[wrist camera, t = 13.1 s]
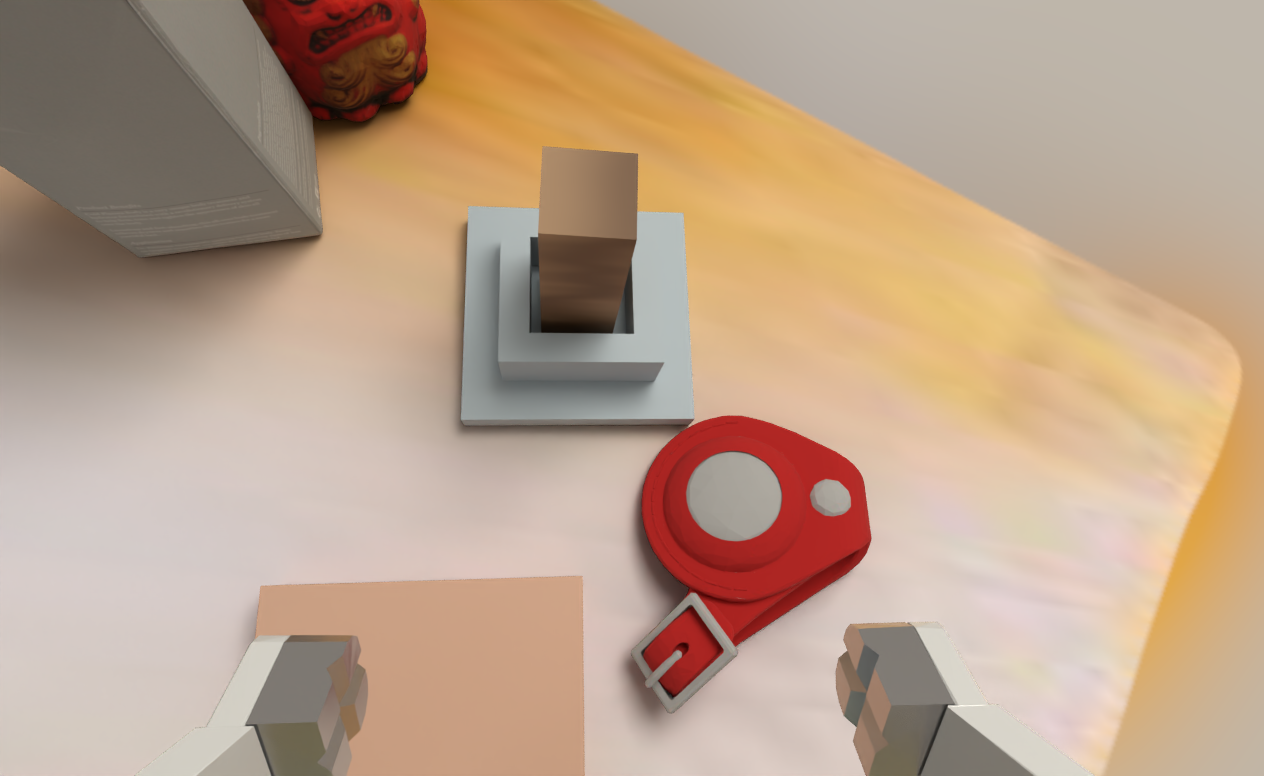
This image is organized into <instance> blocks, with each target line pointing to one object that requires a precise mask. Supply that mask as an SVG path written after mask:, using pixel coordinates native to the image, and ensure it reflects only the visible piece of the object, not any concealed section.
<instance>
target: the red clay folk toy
mask: <svg viewBox="0 0 1264 776" xmlns="http://www.w3.org/2000/svg"><path fill="white" fill-rule="evenodd" d="M242 1H243V2H244V4H245V6H246V7H247V9H248V10H249V12H250V14H251V15H252V17H253V19H254V20H255V22H256V24H257V25H258V27H259V28H260V30H261V32H262V33H263V35H264V37H265V38H266V40H267V42H268V43H269V45H270V47H271V48H272V50H273V51H274V53H275V55H276V56H277V58H278V60H279V61H280V63H281V65H282V66H283V68H284V69H285V71H286V73H287V74H288V76H289V78H290V79H291V81H292V82H293V84H294V86H295V87H296V89H297V91H298V92H299V94H300V96H301V97H302V99H303V101H304V102H305V104H306V106H307V108H308V109H309V111H310V112H311V115H312V116H314V117H316V118H318V119H320V120H331V119H335V118H343V119H347V120H350V121H355V122H363V121H366V120H368V119H370V118H371V117H373V116H374V115H375V114H376V113H377V111H378V109H379V107H380V105H386V104H387V103H394V104H398V103H402V102H403V101H404V100H405V99H407V98H409V97H410V96H411V95H412V94H413V88H414V87H415V86H416V84H418V83H419V82H420V81H421V80H422V79H423V78H424V77H425V75H426V73H427V55H426V51H425V45H426V20H425V17H424V14H423V10H422V8H421V6H420V4H419V0H242Z"/></svg>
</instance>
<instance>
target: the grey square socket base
mask: <svg viewBox="0 0 1264 776" xmlns="http://www.w3.org/2000/svg"><path fill="white" fill-rule="evenodd" d="M538 224H539V208H508V207H477V206H468V233H467V261H466V289H465V318H464V346H463V374H462V402H461V421H462V422H463V424H464V426H484V425H689V424H690V423H691V422H692V421H693V420H694V401H693V382H692V364H691V345H690V326H689V308H688V289H687V271H686V252H685V234H684V215H683V213H666V212H637V241H636V245H635V249H634V253H633V257H632V261H631V264H630V268H629V272H628V276H627V280H626V284H625V288H624V291H623V295H622V299H621V303H620V307H619V311H618V315H617V318H616V322H615V326H614V330H613V334H594V333H541V307H540V278H539V248H538Z"/></svg>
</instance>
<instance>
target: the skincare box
mask: <svg viewBox="0 0 1264 776" xmlns="http://www.w3.org/2000/svg"><path fill="white" fill-rule="evenodd" d="M0 166H2V167H3V168H5V169H7V170H8V171H10V172H11V173H13V174H14V175H16V176H17V177H19V178H20V179H22V180H23V181H25V182H26V183H28V184H29V185H31V186H32V187H34V188H35V189H37V190H38V191H40V192H41V193H43V194H44V195H46V196H47V197H49V198H51V199H52V200H54V201H55V202H57V203H58V204H60V205H61V206H63V207H64V208H66V209H67V210H69V211H70V212H72V213H73V214H74V215H76V216H77V217H79V218H81V219H82V220H84V221H85V222H87V223H88V224H90V225H91V226H93V227H94V228H96V229H97V230H99V231H100V232H102V233H103V234H105V235H106V236H108V237H110V238H111V239H113V240H114V241H116V242H117V243H119V244H120V245H122V246H123V247H125V248H126V249H128V250H129V251H131V252H132V253H134V254H135V255H136V256H137V257H150V256H158V255H166V254H173V253H180V252H188V251H196V250H204V249H211V248H219V247H228V246H236V245H244V244H253V243H261V242H269V241H276V240H284V239H292V238H300V237H307V236H315V235H320V234H322V230H323V228H322V219H321V208H320V196H319V185H318V175H317V164H316V151H315V141H314V131H313V120H312V115H311V112H310V111H309V109H308V108H307V106H306V104H305V102H304V101H303V99H302V97H301V96H300V94H299V92H298V91H297V89H296V87H295V86H294V84H293V82H292V81H291V79H290V78H289V76H288V74H287V73H286V71H285V69H284V68H283V66H282V65H281V63H280V61H279V60H278V58H277V56H276V55H275V53H274V51H273V50H272V48H271V47H270V45H269V43H268V42H267V40H266V38H265V37H264V35H263V33H262V32H261V30H260V28H259V27H258V25H257V24H256V22H255V20H254V19H253V17H252V15H251V14H250V12H249V10H248V9H247V7H246V6H245V4H244V2H243V1H242V0H0Z"/></svg>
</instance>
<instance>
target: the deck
mask: <svg viewBox="0 0 1264 776" xmlns="http://www.w3.org/2000/svg"><path fill="white" fill-rule="evenodd" d="M259 635H354V636H358V640H359V643H360V647H361V653H360V656H359V659H358V662H357V663H358V664H359V665H361V666H362V667H363V668H364V669H366V674H367V679H368V699H367V706H366V713H365V717H364V720H363V724H362V727H361V730H360V731H359V732H358V733H357V734H356V735H355V736H354V737H353V738H352V739H351V740H350V741H349V746H350V750H351V754H352V759H351V762H350V766H349V769H348V772H347V775H346V776H585V771H584V675H583V579H582V576H567V577H534V578H501V579H469V580H436V581H403V582H370V583H337V584H304V585H272V586H261V587H260V596H259V606H258V615H257V625H256V634H255V639H256V638H257V637H258V636H259Z"/></svg>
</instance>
